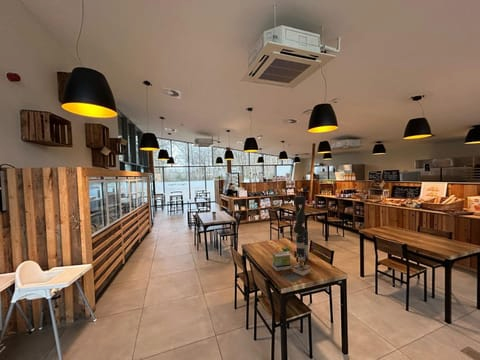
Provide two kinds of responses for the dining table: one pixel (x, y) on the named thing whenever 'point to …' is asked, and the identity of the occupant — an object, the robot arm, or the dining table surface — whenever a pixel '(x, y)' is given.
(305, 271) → the dish
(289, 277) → the mat
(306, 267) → the lid
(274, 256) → the tea box
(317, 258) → the dining table surface
